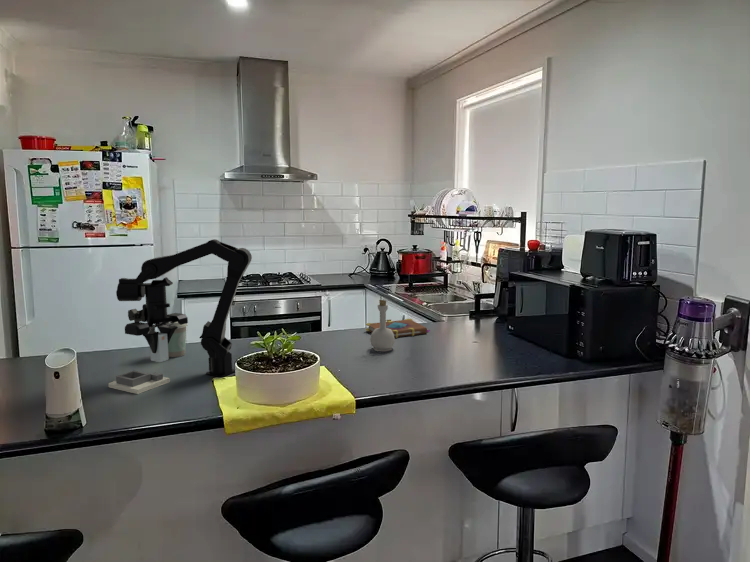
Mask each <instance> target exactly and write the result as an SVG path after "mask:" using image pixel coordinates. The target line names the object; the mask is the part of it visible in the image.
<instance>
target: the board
mask: <svg viewBox="0 0 750 562" xmlns="http://www.w3.org/2000/svg"><path fill="white" fill-rule="evenodd" d="M115 379H116V380H113V381H111V382H108V388H111V389H115V390H119V391H123V392H127V393H131V394H135V395H139V394H143V393H145V392H147V391H151V390H153V389H155V388H158V387H161V386H162V385H166V384H169V383H170V382H171V379H170V377H166V376H164V374H163V373H160V372H152V373H147V372H144V371H138V370H131V371H128V372H126V373H122V374H120V375H116V376H115Z"/></svg>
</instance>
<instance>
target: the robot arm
mask: <svg viewBox="0 0 750 562" xmlns="http://www.w3.org/2000/svg"><path fill="white" fill-rule="evenodd" d="M209 255H214V256H216V257H218V258H219V259H221V260H223V261H225V262H227V273H226V279H225V281H224V282H225V283H224V285H223V288H222V291H221V294H220V296H219V300H218V303H217V305H216V308H215V311H214V315H213V317H212V320H211V321H209V320H208V321H207V322H205V324H204V325H203V328H202V333H201V335H200V337H199V339H200V345H201V347H202V349H204V351H206V352H207V355H208V370H209V371H206V373H205V375H208V376H214V377H218V378H223V377H225V376H228V375H230V374H233V373H236V372H235V370H236V369H233V357H232V353H231V352H230V351H231V349H232V346H233V343H232V342H231V341H230V340H229V339H228V338H226V337H225V336H226V329H227V321H228V320H227V319H228V317H229V314H230V311H231V308H232V305H233V302H234V299H235V296H236V293H237V290H238V288H239V284H240V281H241V279H242V277H243V276H244V274H245V272H246V270H247V269H248V268H249V265H250V264H251V262H252V258H253V256H252V254H251V252H250V250H249V249H247V248H246V247H239V248H238V247H235V246H233V245H230V244H227V243H225V242H222V241H220V240H218V239H213V238H212V239H210V240H208V241H206V242H205V243H202V244H199V245H196V246H193V247H190V248H188V249H186V250H183V251H181V252H177V253H175V254H169V255H163V256H158V257H153V258H150V259H147V260H145V261H143V262H142V265H141V267H140V270H141V271H140V272H139V274H138V275H137V276H136V278H128V277H127V278H125V277H120V278H119V279H118V284H117V287H116V291H115V293H116V299H117V301H119V302H141V301H142V299H143V298H145V304H144V303H143V304H142V309H140V310H138V309H137V308H133V309H129V310H128V311H127V317H128V320H129V321H130V323H126V324H125V326H124V334H125V335H129V336H137V337H138V336H142V337H144V339H145V340H146V342H147V344H148V346H149V349H150V348H151V350H152V352H153V353H156V351H157V344H158V333H166V334H167V340H168V344H169V341H170V339H171V337H172V335H173V333H174V331H175V330H176V329H177V328H178V327H177V326H174V323H175V322H178V323H179V324H180V325H182V324H186V323H187V324H188V323H189V321H188V320H189V319H188V316H187V315H186V314H185V313H180V312H179V313H178V312H173V313H169V314H168V308H170V307H171V306H170V305H171V303H168V302H167V290H166V287H170V286H172V285H174V283H173V281H172V280H170V279H169V278H168V277H166V276H165V277H164V278H163V279H157V278H160V277H163V276H164V275H165V274H168V273H169V272H170V271H173V270H174V269H176V268H177V267H179V266H182V265H186V264H188V263H190V262H193V261H195V260H198V259H201V258H204V257H206V256H209ZM150 280H152V281H151V282H148V281H150ZM131 321H134V322H131ZM156 328H157V329H158V330H159V331H156Z"/></svg>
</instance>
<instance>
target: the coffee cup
mask: <svg viewBox="0 0 750 562" xmlns="http://www.w3.org/2000/svg"><path fill="white" fill-rule="evenodd" d="M174 326H177V327H178V328H177V329H176V330H175V331H174V333H173V335H172V337H171V339H170V341H169V344H168V357H169V358H179V357H182V356H184V355H185V354H186V344H187V343H186V341H187V340H186V339H187V327H188V323H186V324H182V325H180V324H179V323H178V322H175V323H174Z"/></svg>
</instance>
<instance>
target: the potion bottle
mask: <svg viewBox="0 0 750 562" xmlns="http://www.w3.org/2000/svg"><path fill="white" fill-rule="evenodd" d="M378 301H379V302H378V303H379V304H377V309H378V311H379V323H380V328H377V329H375V330H374V331H373V332H372V333H371V334H370V339H369V341H370V345H371V347H372V349H373V350H374V351H375V352H376V351H377V352H381V353H382V352H390V351H392V350H393V347H394V345H395V340H396V339H395V338H394V334H393V332H392V330H391V329H388V328H386V322H387V321H386V320H387V311H388V309H389V305H388V304H387V300H385V299H379V300H378Z"/></svg>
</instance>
